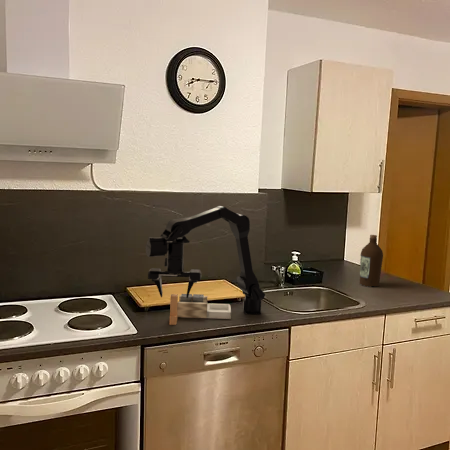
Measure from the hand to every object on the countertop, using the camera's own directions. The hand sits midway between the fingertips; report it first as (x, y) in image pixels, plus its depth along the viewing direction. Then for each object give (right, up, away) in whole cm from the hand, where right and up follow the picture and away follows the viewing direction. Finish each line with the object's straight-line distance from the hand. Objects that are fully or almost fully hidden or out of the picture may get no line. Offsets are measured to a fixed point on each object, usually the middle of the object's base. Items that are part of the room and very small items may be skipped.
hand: (174, 297), depth 173 cm
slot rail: (+6, -8, +11) cm, 15 cm away
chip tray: (+16, -8, +12) cm, 21 cm away
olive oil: (+90, -4, +65) cm, 111 cm away
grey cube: (+3, -5, +11) cm, 12 cm away
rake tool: (-1, -9, +1) cm, 9 cm away
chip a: (+8, -5, +11) cm, 14 cm away
